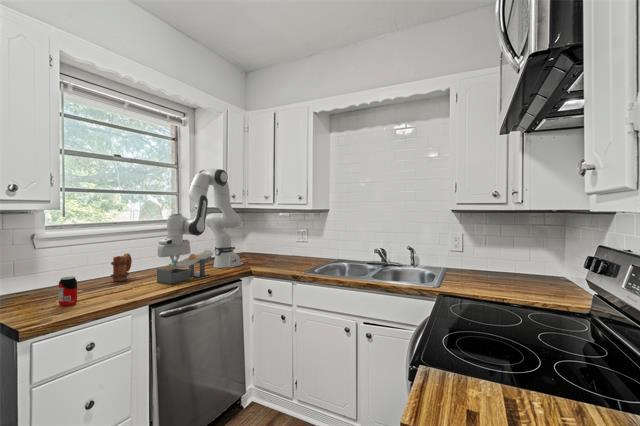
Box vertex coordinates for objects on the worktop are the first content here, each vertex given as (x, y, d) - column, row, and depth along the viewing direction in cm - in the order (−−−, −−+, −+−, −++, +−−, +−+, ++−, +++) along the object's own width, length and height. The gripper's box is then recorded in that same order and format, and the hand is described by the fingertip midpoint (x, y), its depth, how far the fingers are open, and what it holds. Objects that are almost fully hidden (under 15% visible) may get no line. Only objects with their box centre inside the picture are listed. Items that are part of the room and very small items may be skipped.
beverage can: (76, 305, 138) (76, 278, 138) (58, 308, 134) (57, 280, 134) (77, 301, 143) (77, 275, 143) (59, 304, 139) (59, 277, 139)
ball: (188, 261, 193) (194, 258, 196) (193, 261, 191) (198, 258, 194) (186, 255, 192) (192, 252, 195) (191, 256, 190) (196, 252, 193)
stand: (194, 273, 203) (194, 256, 203) (209, 276, 196) (209, 258, 196) (184, 276, 196) (183, 258, 196) (199, 278, 189) (198, 260, 189)
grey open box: (176, 278, 191) (176, 265, 191) (190, 280, 184) (190, 266, 184) (156, 282, 180) (156, 268, 180) (170, 285, 174) (170, 270, 173)
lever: (198, 257, 211) (196, 248, 209) (214, 259, 203) (212, 250, 202) (169, 270, 192) (166, 260, 191) (185, 272, 184) (183, 262, 183)
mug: (121, 282, 180) (121, 256, 180) (107, 282, 180) (107, 256, 180) (137, 276, 194) (136, 252, 194) (124, 276, 195) (123, 252, 194)
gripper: (186, 239, 202) (186, 260, 202) (156, 241, 184) (155, 264, 184) (192, 239, 198) (192, 261, 198) (162, 241, 181) (162, 265, 181)
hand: (174, 263), depth 191 cm, fingers closed
